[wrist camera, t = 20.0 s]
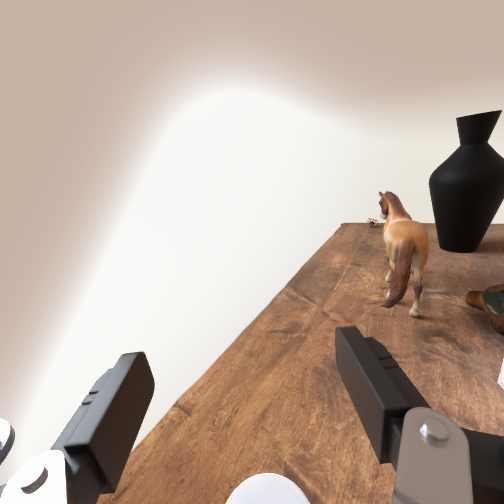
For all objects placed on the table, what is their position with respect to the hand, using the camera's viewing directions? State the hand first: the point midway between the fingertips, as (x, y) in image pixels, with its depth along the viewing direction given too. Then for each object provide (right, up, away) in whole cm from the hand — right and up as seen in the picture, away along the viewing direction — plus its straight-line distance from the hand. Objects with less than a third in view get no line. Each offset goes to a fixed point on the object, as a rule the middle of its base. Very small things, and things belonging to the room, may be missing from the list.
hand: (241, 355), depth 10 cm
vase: (+61, +5, +62) cm, 88 cm away
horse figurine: (+30, -5, +46) cm, 56 cm away
